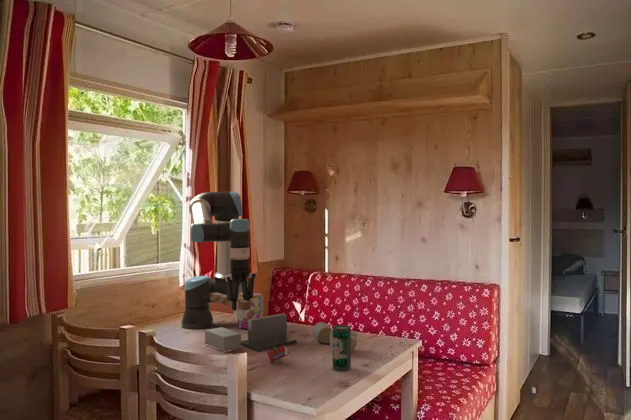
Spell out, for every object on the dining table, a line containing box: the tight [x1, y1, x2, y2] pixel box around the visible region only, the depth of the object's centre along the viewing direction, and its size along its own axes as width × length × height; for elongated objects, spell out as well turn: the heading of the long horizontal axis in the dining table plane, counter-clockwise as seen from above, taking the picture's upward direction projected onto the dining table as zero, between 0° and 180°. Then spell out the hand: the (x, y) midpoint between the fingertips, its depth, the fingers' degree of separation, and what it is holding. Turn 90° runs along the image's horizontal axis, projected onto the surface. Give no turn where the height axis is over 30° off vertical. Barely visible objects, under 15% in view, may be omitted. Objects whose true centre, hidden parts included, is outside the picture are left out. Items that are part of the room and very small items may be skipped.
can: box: [332, 324, 352, 372], centre depth 191 cm, size 6×6×15 cm
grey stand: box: [204, 326, 242, 352], centre depth 221 cm, size 15×8×6 cm, turn 40°
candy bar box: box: [237, 292, 264, 330], centre depth 251 cm, size 11×5×16 cm, turn 74°
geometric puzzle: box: [266, 345, 289, 365], centre depth 198 cm, size 7×7×8 cm
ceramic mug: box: [312, 321, 333, 344], centre depth 228 cm, size 11×8×8 cm
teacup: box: [329, 329, 358, 353], centre depth 211 cm, size 14×11×8 cm
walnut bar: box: [210, 292, 251, 310], centre depth 216 cm, size 26×3×3 cm, turn 40°
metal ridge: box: [241, 313, 298, 353], centre depth 224 cm, size 14×20×12 cm
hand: (240, 317), depth 210 cm, fingers closed on walnut bar, 3 cm apart
